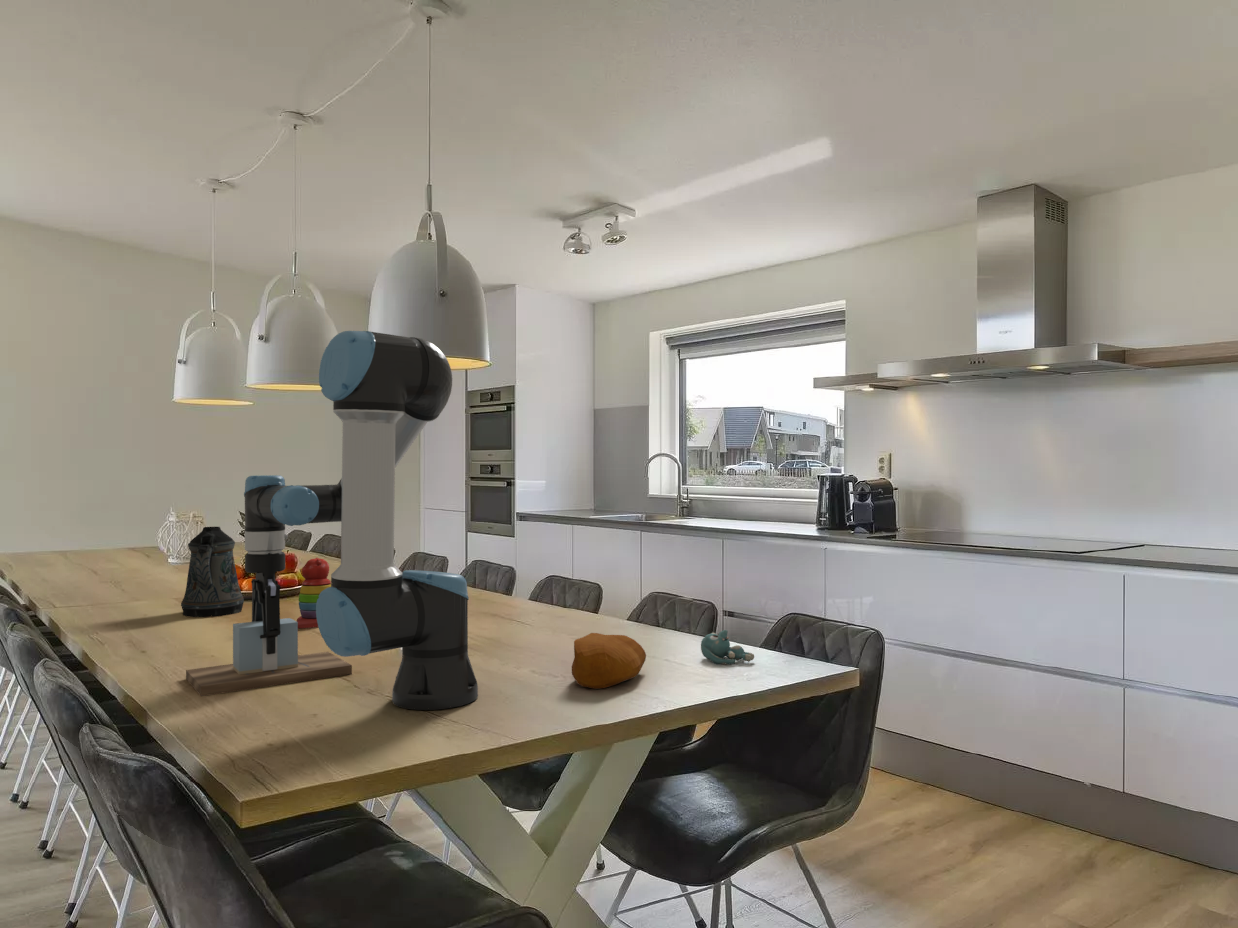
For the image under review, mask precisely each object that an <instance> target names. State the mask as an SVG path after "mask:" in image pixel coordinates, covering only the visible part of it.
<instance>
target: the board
mask: <svg viewBox="0 0 1238 928" xmlns="http://www.w3.org/2000/svg"><path fill="white" fill-rule="evenodd" d="M352 667H353V666H352V664H351V663H349V662H347V661H345V660H344V659H342V658H340V657H338V656H336V654H334V653H332V652H330V651H324V652H313V653H307V654H298V667H293V668H285V669H278V670H270V671H263V672H255V673H248V674H240V675H239V674H238V673H237V672H236V671H235V670H234V669H233V663H230V664H229V663H228V664H221V665H215V666H213V665H212V666H207V667H198V668H191V669H189V668H188V669H186V670H185V679H186V681H187V682H188V683H189V684H190V685H191V687H193V689H194V690H195V691H196V692H197V694H199V696H200V697H203V696H209V695H210V696H212V695H218V694H225V693H232V692H237V691H244V690H251V689H259V688H265V687H273V686H279V685H287V684H292V683H300V682H307V681H314V680H319V679H320V680H321V679H327V678H334V677H340V676H341V677H343V676H347V675H352V673H353V668H352Z"/></svg>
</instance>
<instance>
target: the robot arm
mask: <svg viewBox="0 0 1238 928" xmlns="http://www.w3.org/2000/svg"><path fill="white" fill-rule="evenodd" d="M323 351H324V352H323V354H322V356H321V360H320V364H319V371H318V382H319V387H320V388H321V389H320V390H321V394H322V395H323V396H324V397H325V398H326V399H328V400H330V401H332V404H333V405H332V406H333V407H332V410H333V413H334V414H335V415H336V416H337V418H339V420H341V423H342V437H341V438H342V439H341V440H342V444H341V445H342V446H341V447H342V448H341V450H342V451H341V455H342V456H341V458H342V459H341V478H340V480H339V481H338V483H336V484H320V485H319V484H311V485H307V484H303V485H302V484H301V485H299V484H297V485H292V484H291V485H286V479H285V478H284V476H282V475H281V474H280V475H277V474H274V475H271V474H270V475H266V474H265V475H249V476H248V477H247V476H246V479H245V481H244V483H245V484H244V492H243V496H244V524H245V525H244V550H245V551H246V552H247V553H246V554H244V570H245V572H246V573H249V574H255V578H251V581H250V583H251V622H256V621H263V633H264V634H263V635H260V639H261V638H262V671H268V670H276V669H277V637H278V635H280V633H281V631H280V619H281V611H280V610H281V608H280V606H281V603H280V602H281V601H280V598H281V597H280V595H281V585H280V584H279V582H278V580H276V573H277V572H283V571H284V570H286V553H285V551H283V550H285V548H286V540H287V539H288V536H289V535H288V534H287V533H286V531H285V530H286V526H290V527H293V526H303V525H307V524H318V523H319V524H322V523H338V522H339V523H341V525H340V526H341V528H340V529H341V531H340V533H341V534H340V536H341V537H340V565H338V567H337V568H335V570H334V571H332V573H331V574H330V575H331V576H330V578H331V579H330V581H331V587H328V588H326V589H325V590H323V591H322V592H321V593H320V594H319V598H318V599H317V603H316V617H317V623H318V627H317V628H318V630H319V633H320V636H321V638H322V639H323V641H324V643H325V645H326V646H327V647H328V649H330V651H332V653H333V654H334V655H337V656H340V657H344V658H345V657H355V656H361V657H364V656H367V655H369V654H375V653H380V652H384V651H389V650H390V651H391V650H396V649H401V648H402V651H401V652H402V655H401V656H402V657H401V661H400V664H399V667H398V671H397V674H396V677H395V681H394V683H393V687H392V691H391V692H392V695H391V697H392V704H393V705H395V706H396V707H399V708H402V709H408V710H419V711H420V710H421V711H432V710H433V711H434V710H435V711H436V710H445V709H453V708H457V707H461V706H465V705H467V704H471V703H472V702H474V701H475V700H478V696H479V694H478V693H479V686H478V685H479V684H478V680H477V679H476V676H475V673H474V670H473V666H472V663H471V660H470V657H469V647H468V646H469V644H468V643H469V641H468V640H469V639H468V637H469V634H468V632H469V630H468V627H469V624H468V623H469V622H468V619H469V618H468V615H469V614H468V609H469V607H468V605H469V604H468V601H469V594H468V593H469V592H468V584H467V580H466V578H465V577H464V576H463V575H461V574H460V573H459V574H458V573H452V572H445V571H443V572H442V571H434V570H417V569H415V570H414V569H407V570H406V569H405V570H403V571H402V570H400V569H399V567H397V566H396V565H395V562H394V561H395V560H394V555H395V549H394V548H395V545H394V544H395V496H396V495H395V492H396V490H395V487H396V486H395V484H396V481H395V480H396V477H395V475H396V467H397V466H398V465H399V463H400V462H401V461H402V459H403V457H404V456H405V454H406V453H407V452H408V450H409V449H410V447H411V446H412V445H413V443H414V442H415V440H416V439H417V438H418V436H419V435H420V434H421V432H422V431H423V429H424V428H425V427H426V425H427V423H430V422H434V421H436V420H437V418H439V416H440V415H441V413H442V412H443V410H444V409H445V408H446V406H447V404H448V401H449V399H450V397H451V396H450V395H451V393H452V389H453V373H452V368H451V365H450V363H449V360H448V358H447V357H446V355H445V354H444V353H443V352H442V350H441V349H440V348H439V347H437V345H435V344H434V343H432V342H430V341H428V340H426V339H424V338H420V337H414V336H410V337H409V336H405V335H404V336H403V335H395V334H390V333H389V334H388V333H382V332H374V331H371V330H370V331H369V330H344V331H341V332H339V333H337V334H336V335H334V336H333V337H332V338H331V339H330V341H329V343H328V344H327V346H326V347H325V349H324V350H323ZM270 629H272V630H270Z"/></svg>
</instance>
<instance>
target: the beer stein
mask: <svg viewBox="0 0 1238 928" xmlns="http://www.w3.org/2000/svg"><path fill="white" fill-rule="evenodd" d="M235 546H236V542H235V539H234V538H232V537H231V536H229V534H227V533H225V531H223V530H222V529H221V526H204V527H203V528H202V530H201V532H199V533H198V534H197V535H196V536H195V537H193V538H192V539H191V540H190V541H189V542H188V544H187V547H188V550H189V551H190V558H189V565H188V572H187V579H186V587H185V591H184V596H183V598H182V601H181V603H180V606H181V609H182V615H183V616H185V617H189V618H213V617H223V616H230V615H235V614H238V613H241V612H243V611H242V610H243V606H244V602H245V601H244V600H245V599H244V598H245V597H244V596H243V594H242V591H241V587H240V584H239V580H238V574H237V568H236V563H235V556H234V548H235Z"/></svg>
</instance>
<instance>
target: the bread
mask: <svg viewBox="0 0 1238 928" xmlns="http://www.w3.org/2000/svg"><path fill="white" fill-rule="evenodd" d="M573 652H574V654H573V655H574V656H573V661H572V665H571V675H572V677H573V679H574V681H575V682H576V683H577V684H578V685H579V686H581V687H584V688H589V689H597V690H598V689H605V688H609V687H613V686H615V685H618V684H621V683H623V682H625V681H628V680H632V679H634V678H635V677H637V676H638V675H639V674H640V672H641V670H642V668H643V666H644V664H645V662H646V660H647V659H646V658H647V653H646V651H645V649H644V648H643V647H642V645H641V644H640V643H639V642H637V641H636V640H635V639H633V638H631V637H629V636H627V635H624V634H605V633H598V632H590V633H589V634H586V635H585V636H582V637H580V638H579V637H578V638H576V639H575V640H574V641H573Z"/></svg>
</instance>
